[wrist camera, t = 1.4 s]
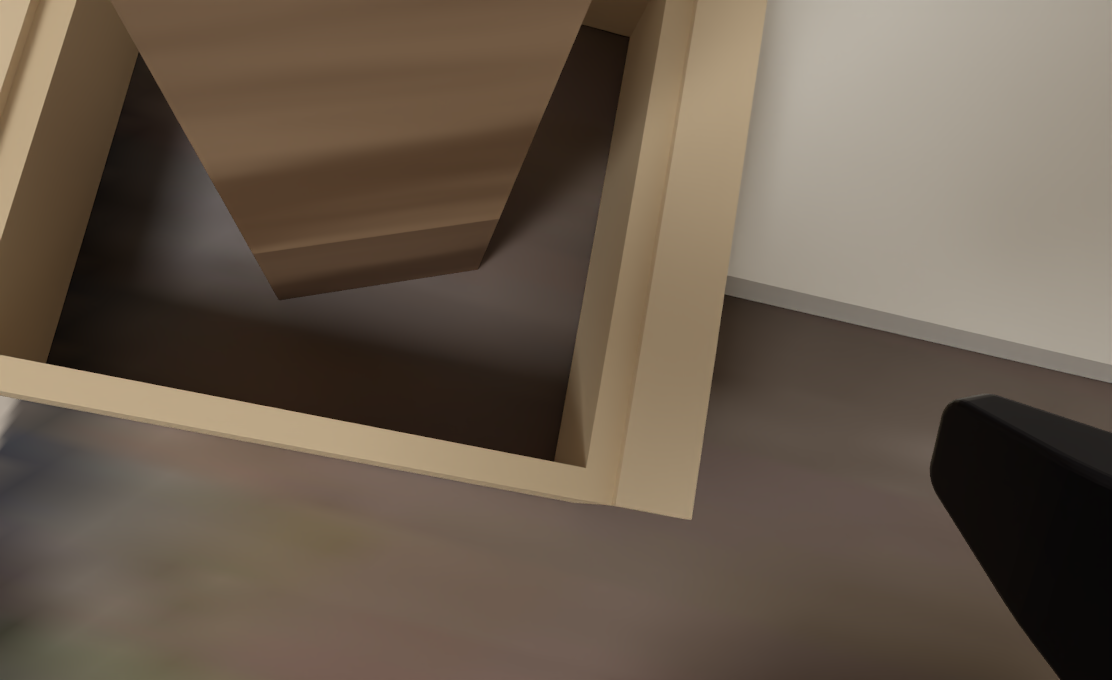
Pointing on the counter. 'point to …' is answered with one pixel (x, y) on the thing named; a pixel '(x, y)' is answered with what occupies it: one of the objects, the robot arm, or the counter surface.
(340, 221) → the walnut box
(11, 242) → the light wooden tray
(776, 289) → the tile
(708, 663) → the counter surface
